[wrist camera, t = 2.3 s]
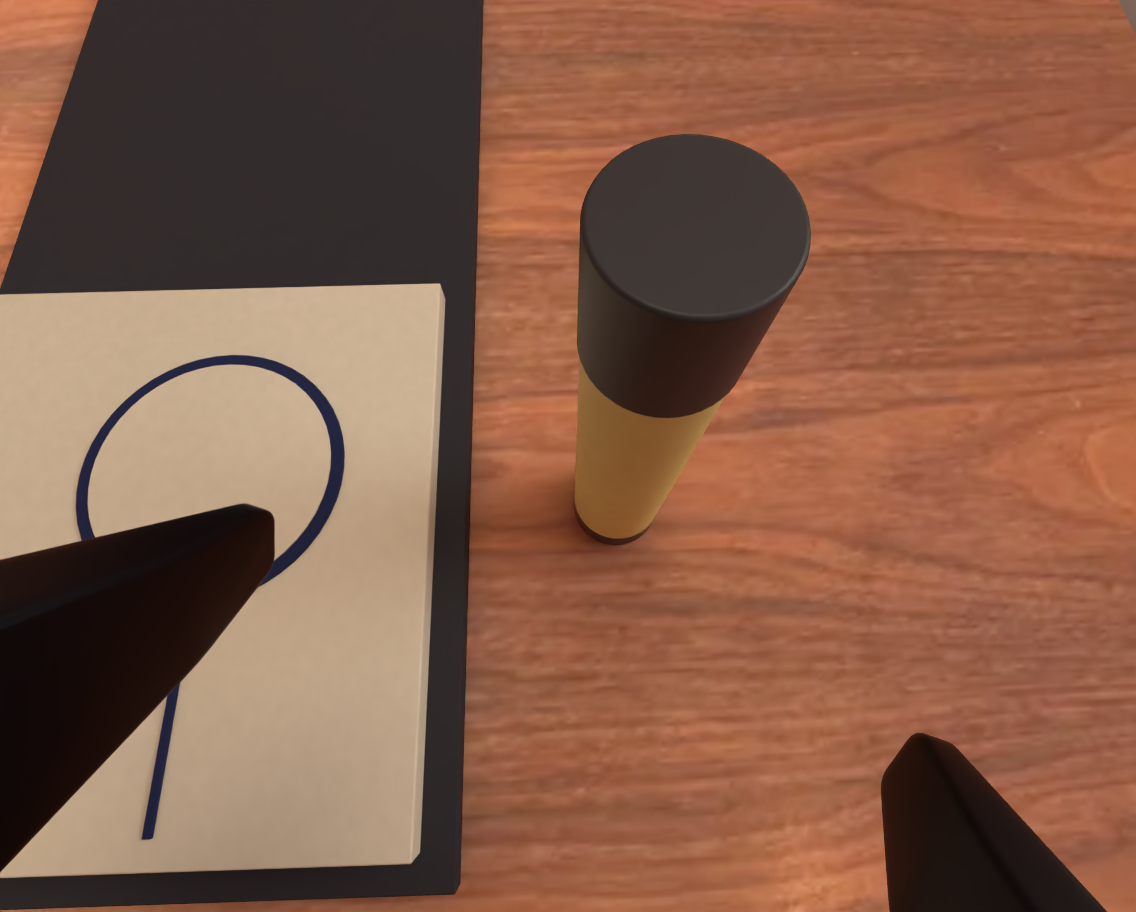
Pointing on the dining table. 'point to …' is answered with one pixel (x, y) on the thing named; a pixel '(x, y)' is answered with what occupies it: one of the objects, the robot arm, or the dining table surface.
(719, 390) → the disc
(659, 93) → the dining table surface
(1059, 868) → the robot arm
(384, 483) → the long black board
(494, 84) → the dining table surface
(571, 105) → the dining table surface
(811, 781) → the dining table surface
